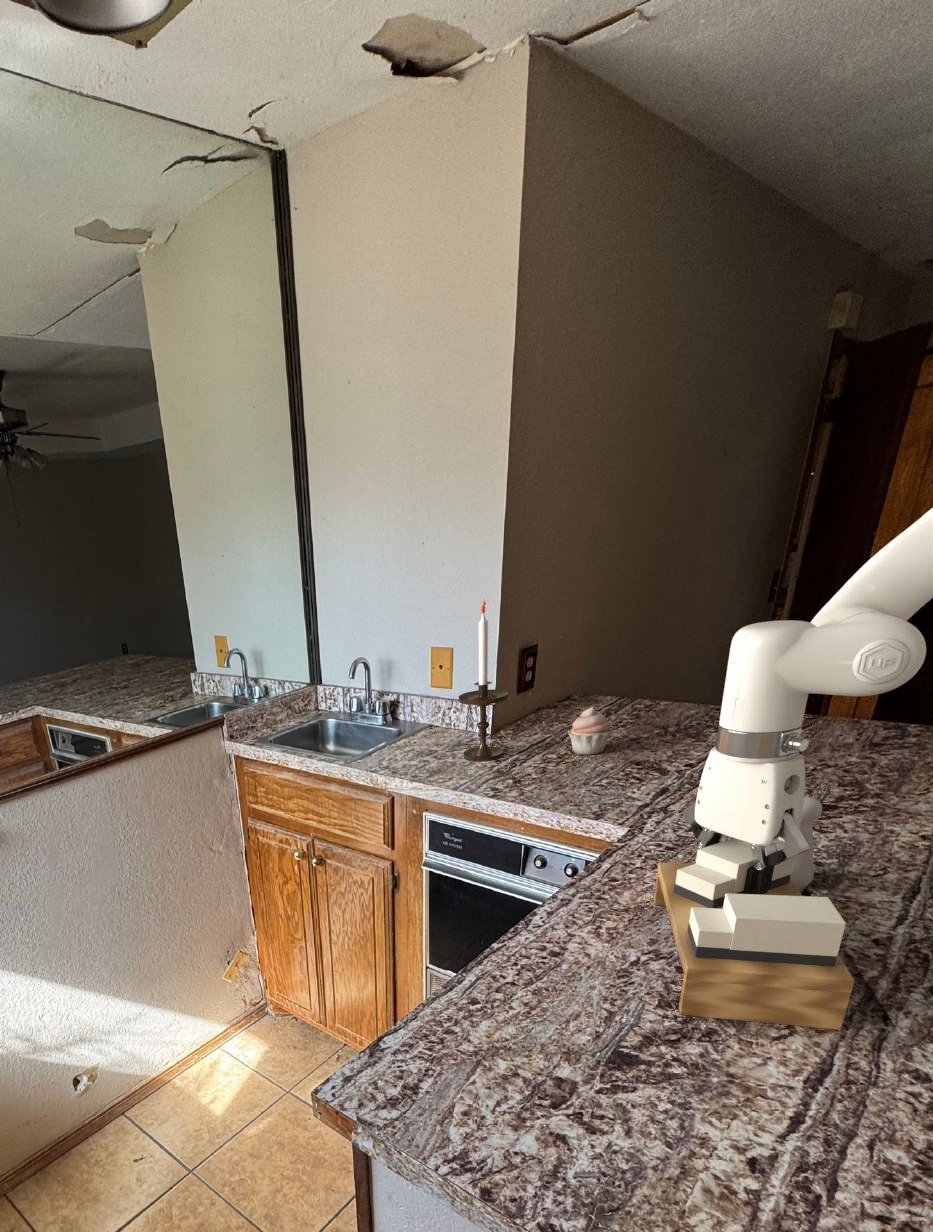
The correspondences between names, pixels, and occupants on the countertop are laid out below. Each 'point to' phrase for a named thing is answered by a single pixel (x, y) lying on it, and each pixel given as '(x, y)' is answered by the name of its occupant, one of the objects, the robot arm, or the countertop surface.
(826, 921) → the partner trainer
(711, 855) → the trainer
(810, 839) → the salt shaker
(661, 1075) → the countertop surface
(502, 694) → the candlestick
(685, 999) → the shoe shelf
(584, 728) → the cupcake
